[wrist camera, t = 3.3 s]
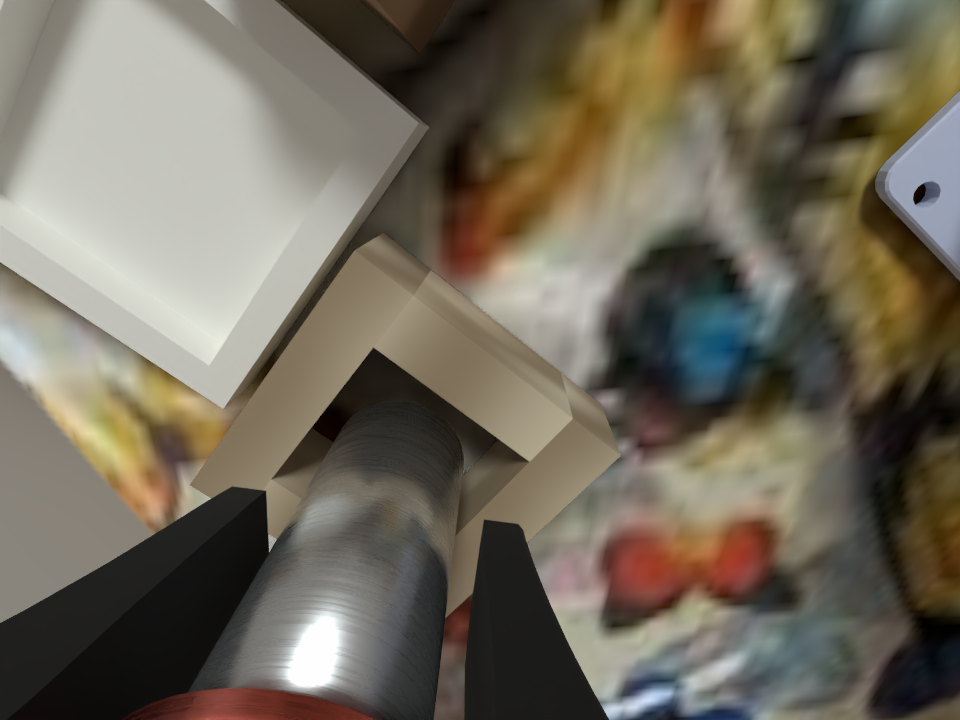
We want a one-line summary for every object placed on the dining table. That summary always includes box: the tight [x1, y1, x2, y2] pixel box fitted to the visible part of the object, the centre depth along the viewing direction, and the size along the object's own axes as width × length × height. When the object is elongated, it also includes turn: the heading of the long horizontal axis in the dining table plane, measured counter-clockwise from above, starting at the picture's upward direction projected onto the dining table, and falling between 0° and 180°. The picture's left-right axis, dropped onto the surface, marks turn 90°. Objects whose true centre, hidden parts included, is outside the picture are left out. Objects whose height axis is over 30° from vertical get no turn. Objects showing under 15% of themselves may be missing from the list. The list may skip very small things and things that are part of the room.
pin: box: [122, 401, 464, 720], centre depth 8 cm, size 4×4×8 cm
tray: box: [0, 0, 430, 409], centre depth 11 cm, size 8×8×2 cm
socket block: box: [190, 233, 621, 618], centre depth 13 cm, size 7×7×2 cm
